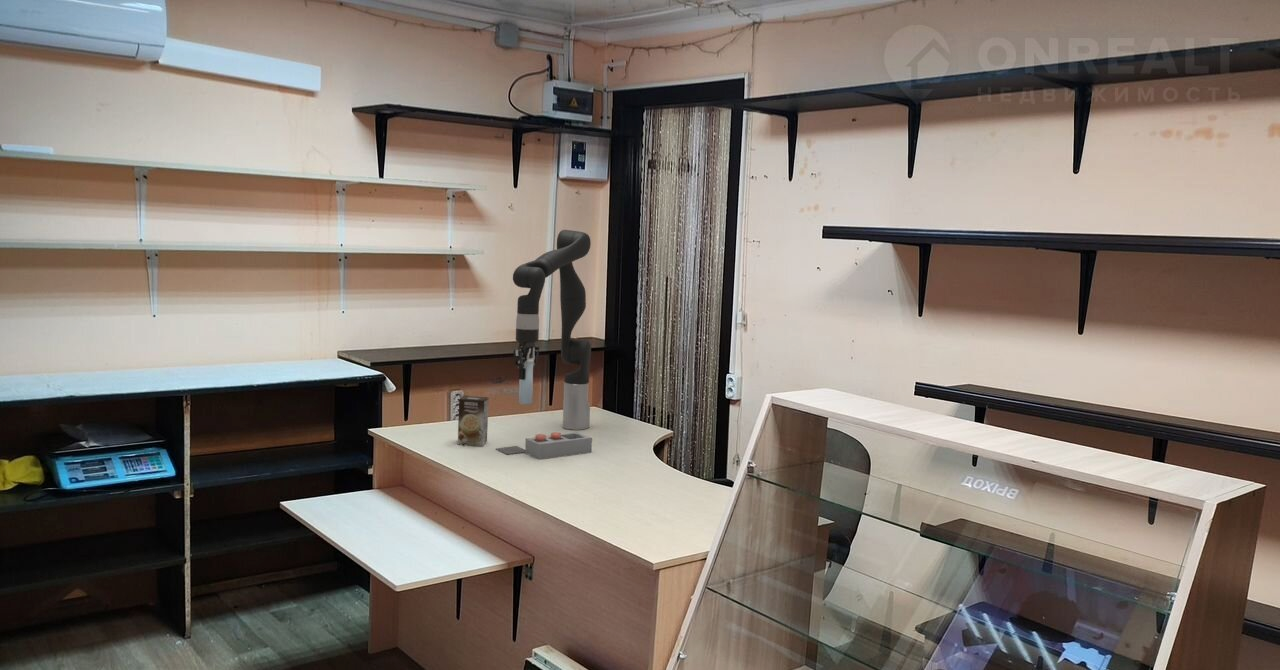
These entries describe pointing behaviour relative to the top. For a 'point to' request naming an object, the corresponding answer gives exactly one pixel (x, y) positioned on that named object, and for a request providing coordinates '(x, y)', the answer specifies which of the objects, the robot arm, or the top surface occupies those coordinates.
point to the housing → (559, 446)
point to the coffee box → (473, 420)
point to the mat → (511, 450)
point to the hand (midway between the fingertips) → (525, 378)
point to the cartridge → (527, 384)
